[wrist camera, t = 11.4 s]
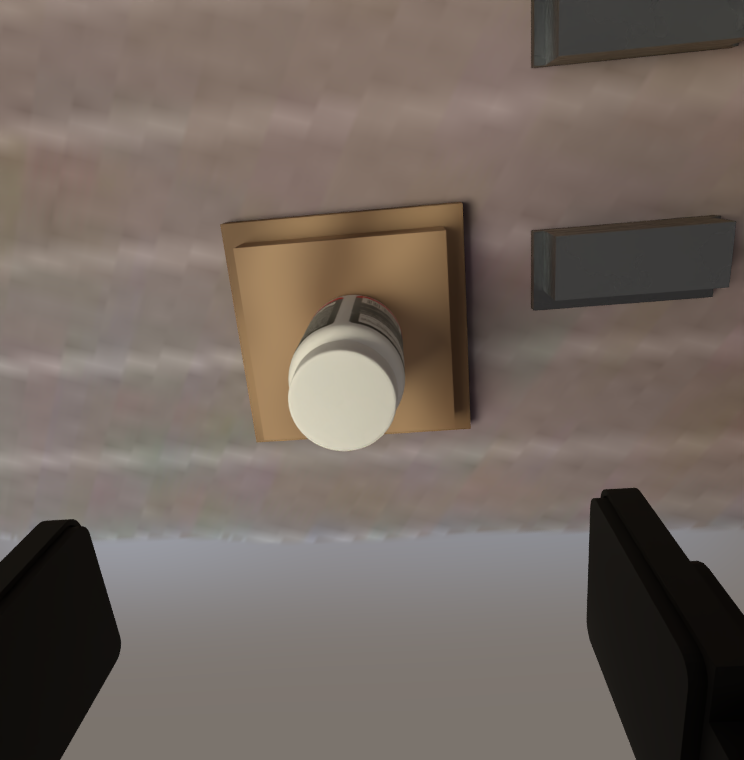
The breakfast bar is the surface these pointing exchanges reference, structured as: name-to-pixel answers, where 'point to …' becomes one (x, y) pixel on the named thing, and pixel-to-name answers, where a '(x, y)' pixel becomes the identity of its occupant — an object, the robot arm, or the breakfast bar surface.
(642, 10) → the clamp jaws
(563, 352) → the breakfast bar surface
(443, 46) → the breakfast bar surface
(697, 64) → the breakfast bar surface
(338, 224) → the tan square pedestal
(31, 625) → the robot arm
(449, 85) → the breakfast bar surface
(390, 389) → the pill bottle
